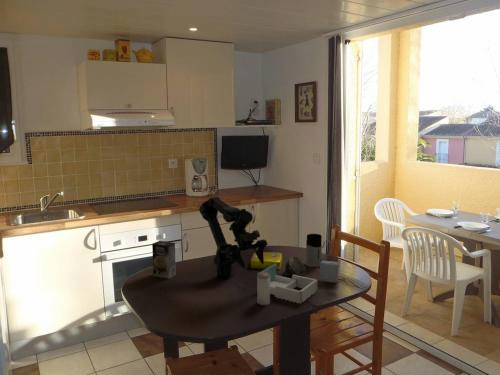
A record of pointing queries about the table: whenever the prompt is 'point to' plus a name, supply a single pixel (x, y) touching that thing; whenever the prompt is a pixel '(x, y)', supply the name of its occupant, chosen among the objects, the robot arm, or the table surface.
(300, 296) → the dock housing
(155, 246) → the coffee box
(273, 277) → the white and teal drawer
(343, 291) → the table surface
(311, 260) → the glass holder
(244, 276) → the table surface
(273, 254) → the yellow box
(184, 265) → the table surface
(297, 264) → the fossil
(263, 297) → the salt jar
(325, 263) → the medicine box
